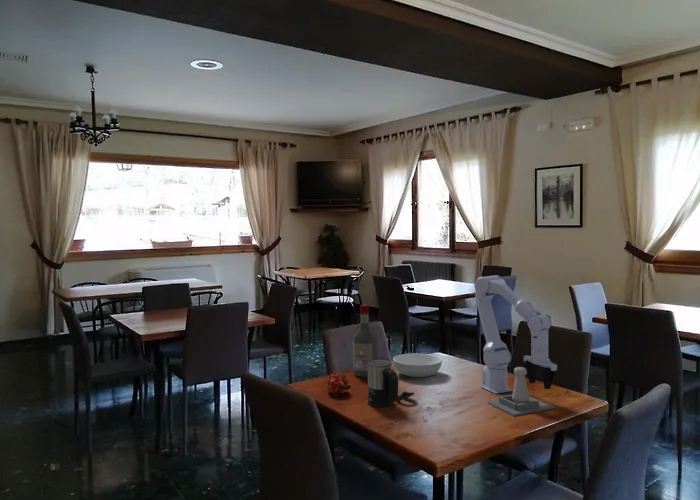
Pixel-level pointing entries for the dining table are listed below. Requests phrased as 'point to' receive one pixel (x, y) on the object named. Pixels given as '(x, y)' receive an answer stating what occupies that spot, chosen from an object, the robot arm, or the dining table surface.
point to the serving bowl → (417, 364)
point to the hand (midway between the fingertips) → (539, 385)
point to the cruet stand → (520, 405)
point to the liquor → (364, 345)
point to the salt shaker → (520, 386)
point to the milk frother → (383, 384)
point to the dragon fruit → (337, 383)
